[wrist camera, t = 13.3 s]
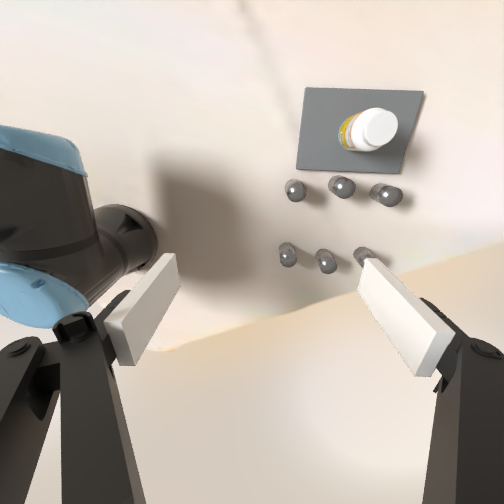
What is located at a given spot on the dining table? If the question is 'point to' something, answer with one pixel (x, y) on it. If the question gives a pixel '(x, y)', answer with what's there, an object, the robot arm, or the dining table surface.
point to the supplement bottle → (368, 130)
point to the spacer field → (343, 190)
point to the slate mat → (332, 117)
